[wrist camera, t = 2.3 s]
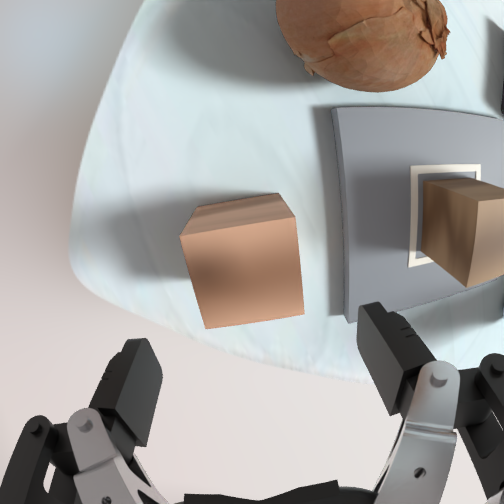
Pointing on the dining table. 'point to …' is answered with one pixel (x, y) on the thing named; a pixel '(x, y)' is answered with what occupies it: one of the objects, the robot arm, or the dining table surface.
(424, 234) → the walnut block
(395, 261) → the grey flat plate
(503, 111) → the calculator
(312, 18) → the onion
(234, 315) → the terracotta block
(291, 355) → the dining table surface
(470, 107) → the dining table surface
